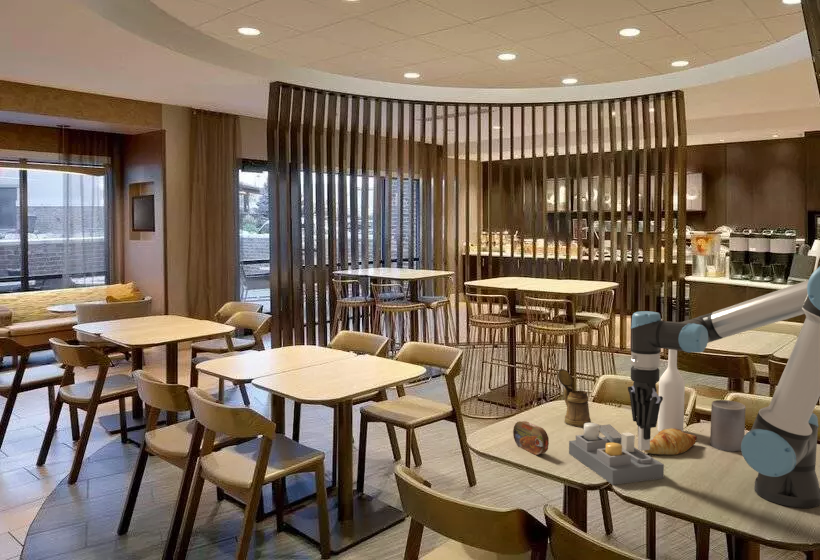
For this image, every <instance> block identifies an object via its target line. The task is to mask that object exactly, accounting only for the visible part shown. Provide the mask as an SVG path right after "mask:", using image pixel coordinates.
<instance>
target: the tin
mask: <svg viewBox="0 0 820 560" xmlns="http://www.w3.org/2000/svg"><path fill="white" fill-rule="evenodd" d="M512 434H513V440H514V442H515V444H516V446H517V447H519V448H520V449H521V450H525V451H527V452H529V453H530V454H531V455H532V454H533V455H536V456H538V455H543V454H545V453H547V451H548V449H549V444H550V443H549V434H548V433H547V431H546V429H544V428H543V427H541V426H538V425H536V424H534V423H532V422H530V421H527V420H524V421H517V422H516V423H515V424H514V426H513V430H512Z"/></svg>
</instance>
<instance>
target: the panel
mask: <svg viewBox="0 0 820 560" xmlns="http://www.w3.org/2000/svg"><path fill="white" fill-rule="evenodd" d="M606 443H610V441H609V440H608V439H607V438H606V437H605V436H603V437H602V436H600V435H599V439H598V440H595V441H592V440H586V439H584V434H577V435H575V439H574V440H569V441H568V446H569V447H568V454H569V455H570V456H572V457H573V458H574V459H576V460H577V461H579V462H581V464H583V465H584V466H586V467H587V468H588V467H589V468H588V469H590V470H591V471H593V472H594V473H595V472H596V473H595V474H597V475H598V476H600V477H601V478H602V477H603V478H602V479H604V480H605V479H606V480H607V481H606V480H605V481H606V482H608V483H609V484H611V485H612V486H615V485H621V484H629V483H636V482H646V481H653V480H661V479H664V476H665V475H664V471H665V469H664V468H665V465H664V463H662V462H660V461H659V460H657V459H655V458H653V457H652V456H651V455H648V453H646V452H643V451H641V450H639V449H638V448H637V447H635V446H634V452H627V451H626V450H624V449H622V455H617V456H610V455H608V454H607V453H605V452H606ZM619 444H621V443H619Z"/></svg>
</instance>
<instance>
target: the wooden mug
mask: <svg viewBox="0 0 820 560" xmlns="http://www.w3.org/2000/svg"><path fill="white" fill-rule="evenodd" d="M557 378H558V380H559V382H560V384H561V385H562V386H563V387H564V389H563V399H564V401H565V402H564V403H565V405H566V413H565V415H564V423H565V424H567V425H569V426H572V427H578V428H579V427H580V428H581V427H583V428H584V424H585V423H592V420H591V416H590V409H589V407H590V406H589V395H588V393H587V391H585V390H575V389H574V388H573V386H572V385H573V377H572V375H571V374H570V372H568V371H567V370H566V369H563V368H560V369H559V370H558V373H557Z"/></svg>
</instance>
